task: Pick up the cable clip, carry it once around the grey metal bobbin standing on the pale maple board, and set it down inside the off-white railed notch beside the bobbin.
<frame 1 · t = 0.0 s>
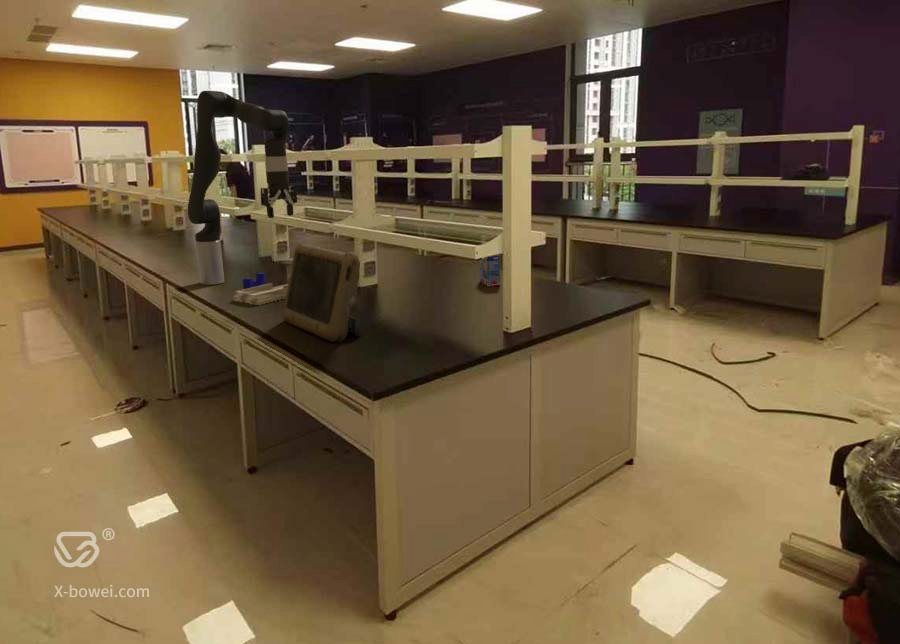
hand: (280, 216, 229), 29 cm above the table, tool pointing down, fingers open, 8 cm apart
tablet: (321, 329, 197), on the table
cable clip: (253, 291, 248), on the table
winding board: (275, 295, 239), on the table
ink cartridge box: (489, 284, 256), on the table
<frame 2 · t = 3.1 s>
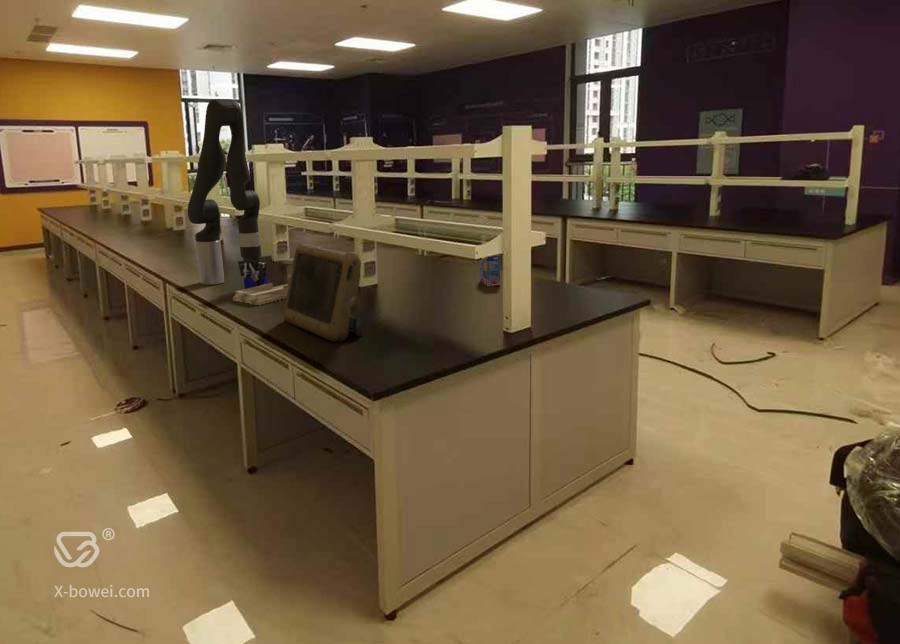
hand: (254, 288, 247), 1 cm above the table, tool pointing down, fingers closed on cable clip, 6 cm apart
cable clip: (255, 291, 248), on the table, touching gripper
everything else where it was.
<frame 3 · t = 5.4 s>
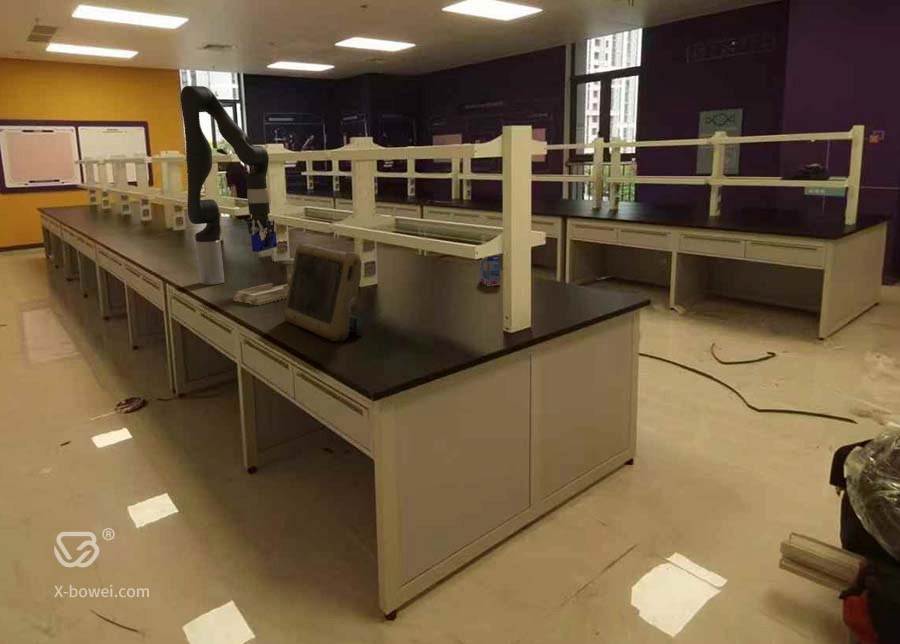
hand: (262, 246, 244), 17 cm above the table, tool pointing down, fingers closed on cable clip, 5 cm apart
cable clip: (263, 249, 245), point 16 cm above the table, touching gripper
everything else where it was.
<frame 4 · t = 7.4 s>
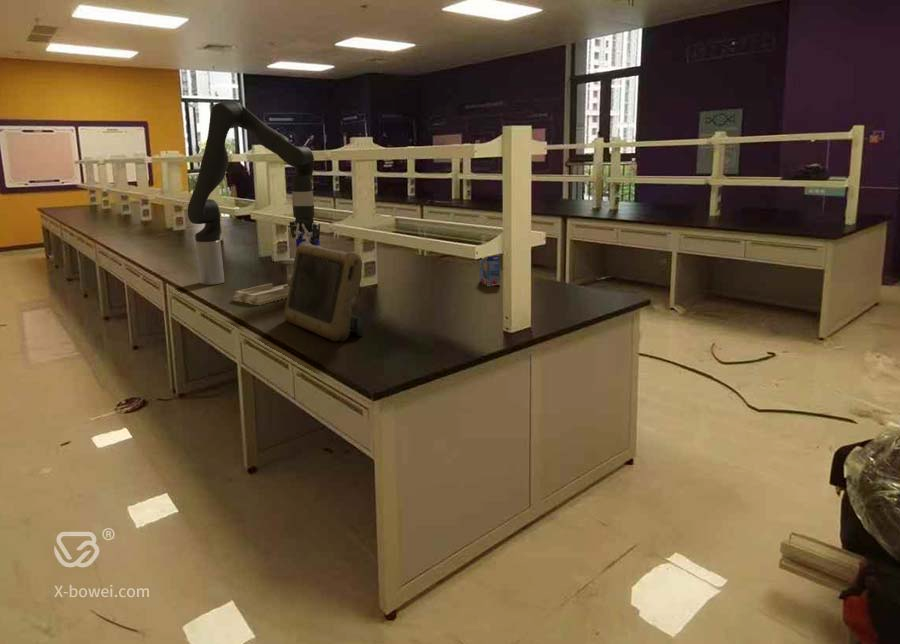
hand: (306, 250, 237), 16 cm above the table, tool pointing down, fingers closed on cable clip, 5 cm apart
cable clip: (307, 253, 237), point 15 cm above the table, touching gripper
everything else where it was.
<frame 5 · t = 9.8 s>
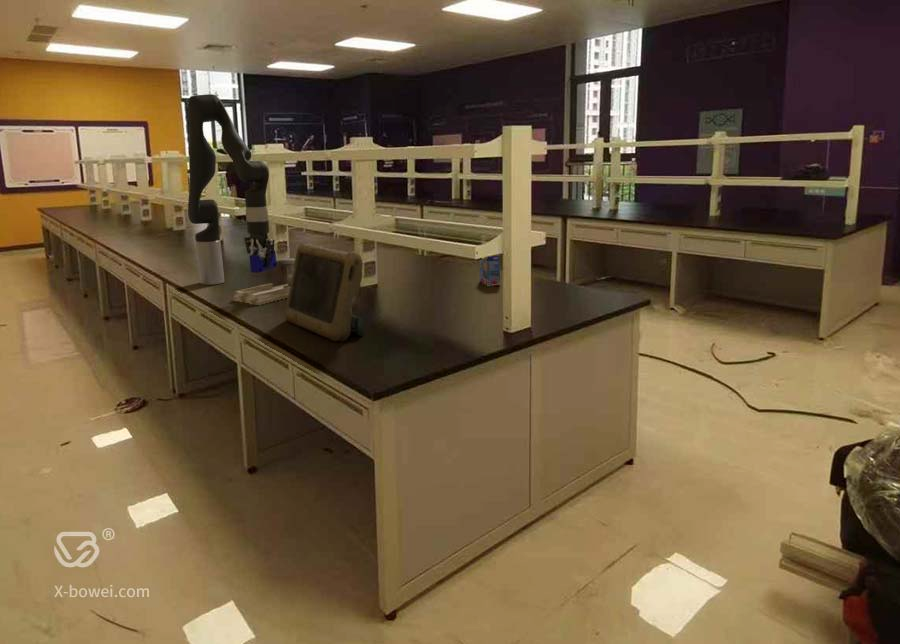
hand: (261, 266, 232), 12 cm above the table, tool pointing down, fingers closed on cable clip, 5 cm apart
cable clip: (262, 269, 233), point 10 cm above the table, touching gripper
everything else where it was.
when the fingers open (4 cm above the table, at t = 11.6 s): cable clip drops 1 cm, resting on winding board.
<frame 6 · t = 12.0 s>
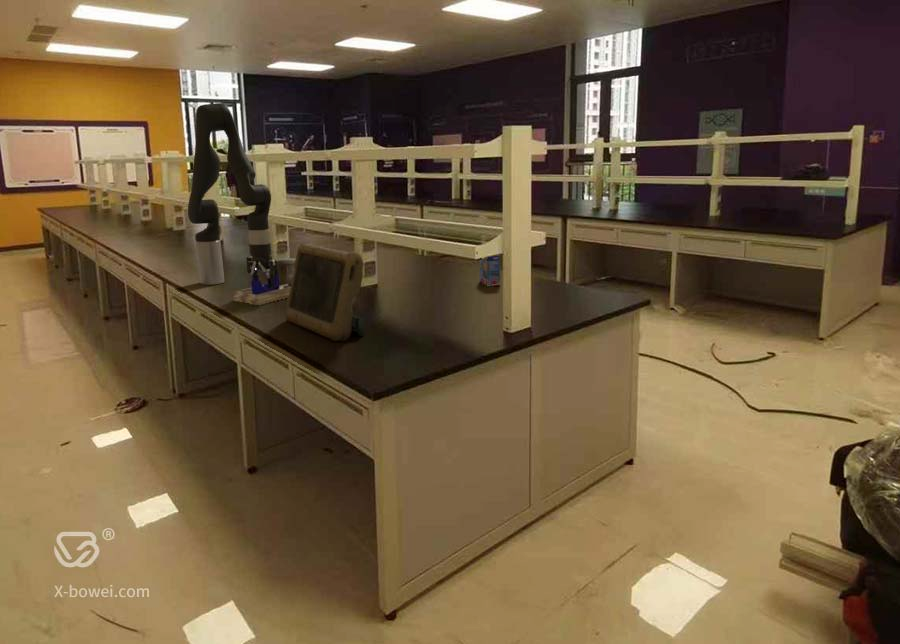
hand: (263, 286, 234), 4 cm above the table, tool pointing down, fingers open, 8 cm apart
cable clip: (264, 294, 235), point 1 cm above the table, touching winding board
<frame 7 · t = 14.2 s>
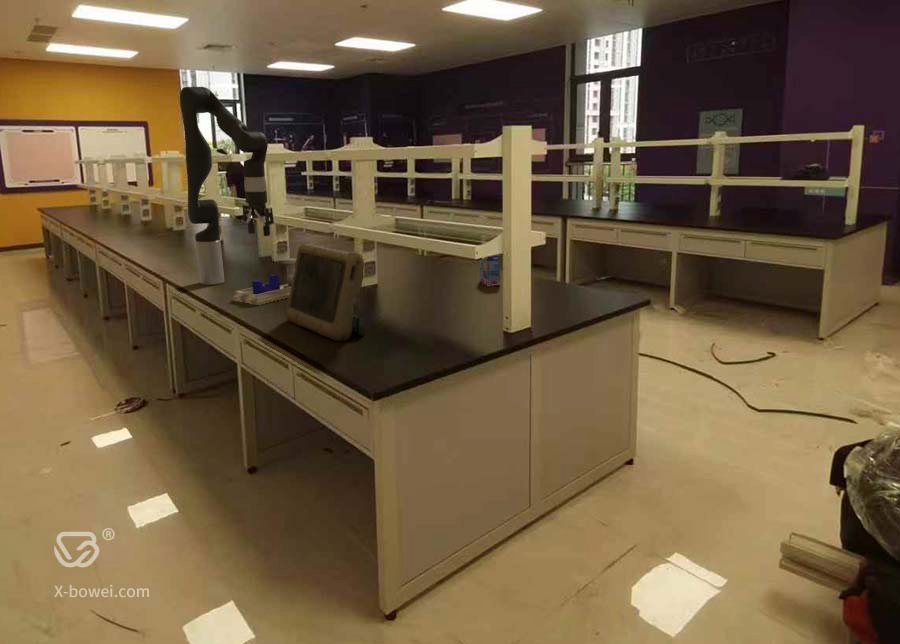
hand: (259, 234, 236), 22 cm above the table, tool pointing down, fingers open, 8 cm apart
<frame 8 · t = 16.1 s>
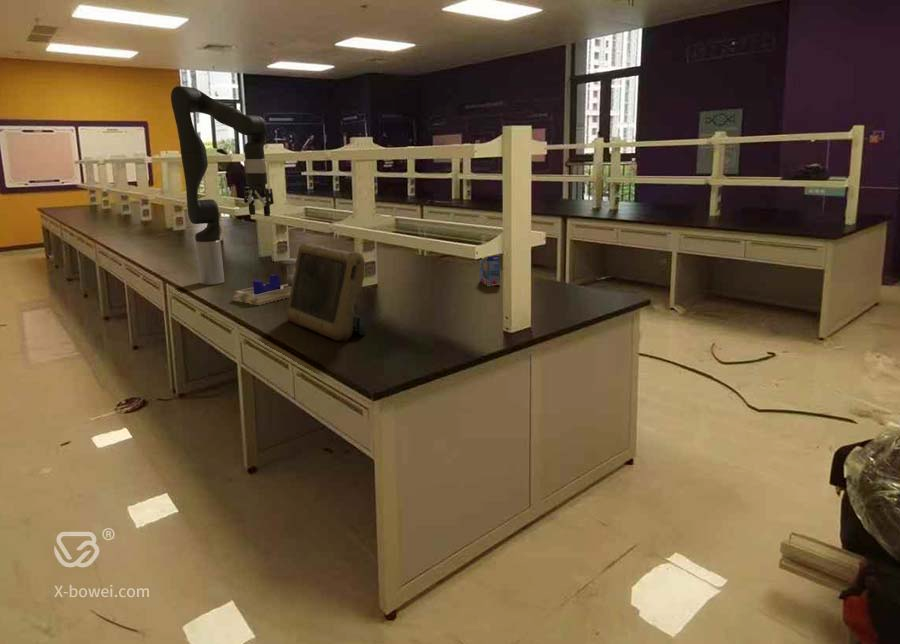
hand: (259, 215, 245), 28 cm above the table, tool pointing down, fingers open, 8 cm apart
at the end: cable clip 0.6 cm from the target spot on the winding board, point 1.3 cm above the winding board's base; the gripper is holding nothing; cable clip tilted 0° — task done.
